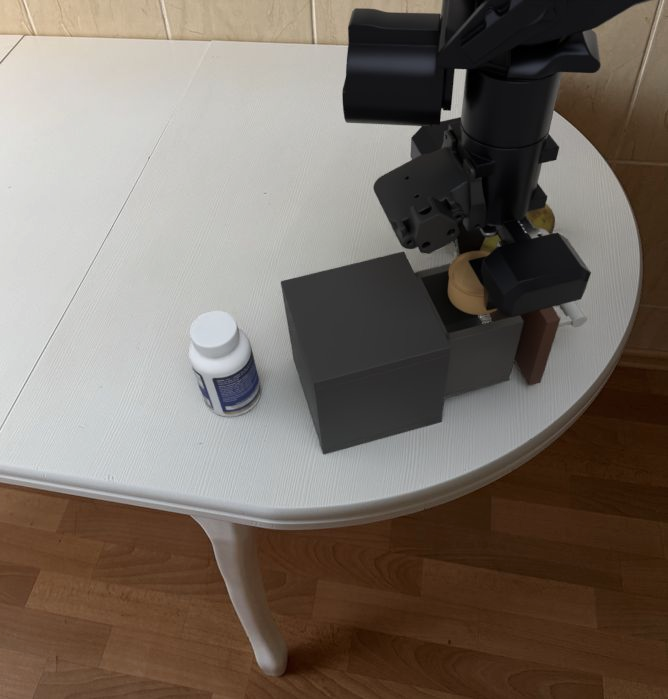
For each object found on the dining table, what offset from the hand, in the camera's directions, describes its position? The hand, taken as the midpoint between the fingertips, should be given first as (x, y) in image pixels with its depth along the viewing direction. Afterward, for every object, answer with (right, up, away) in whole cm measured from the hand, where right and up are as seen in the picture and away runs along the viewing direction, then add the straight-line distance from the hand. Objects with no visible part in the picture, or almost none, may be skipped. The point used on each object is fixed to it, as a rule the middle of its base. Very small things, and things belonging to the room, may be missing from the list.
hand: (478, 284), depth 58 cm
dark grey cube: (-9, -9, +7) cm, 15 cm away
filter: (0, -1, +1) cm, 1 cm away
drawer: (+3, -5, +8) cm, 10 cm away
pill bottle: (-21, -10, +8) cm, 25 cm away
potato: (+5, +6, +18) cm, 20 cm away
